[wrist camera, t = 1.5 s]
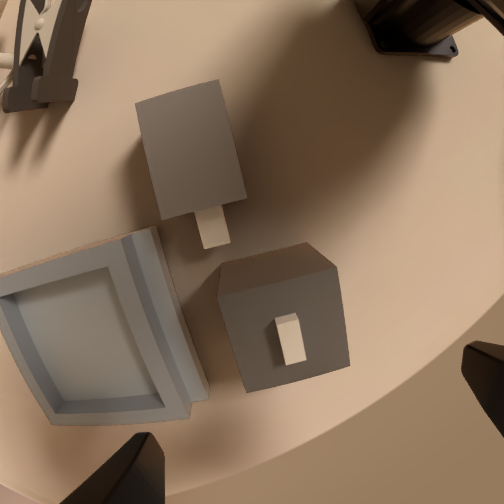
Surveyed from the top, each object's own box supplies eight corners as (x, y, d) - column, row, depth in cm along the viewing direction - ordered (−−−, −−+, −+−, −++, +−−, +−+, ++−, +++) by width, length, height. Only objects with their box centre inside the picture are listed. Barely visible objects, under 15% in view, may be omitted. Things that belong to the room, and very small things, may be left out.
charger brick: (306, 242, 16) (342, 270, 11) (321, 319, 17) (354, 373, 12) (221, 263, 16) (215, 302, 11) (242, 339, 17) (247, 401, 12)
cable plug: (221, 101, 14) (218, 79, 11) (252, 229, 16) (258, 242, 13) (155, 119, 14) (135, 103, 11) (186, 246, 16) (173, 263, 13)
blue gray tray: (156, 225, 15) (140, 233, 13) (209, 387, 18) (207, 415, 15) (-1, 274, 15) (-26, 287, 13) (57, 402, 18) (42, 424, 15)
